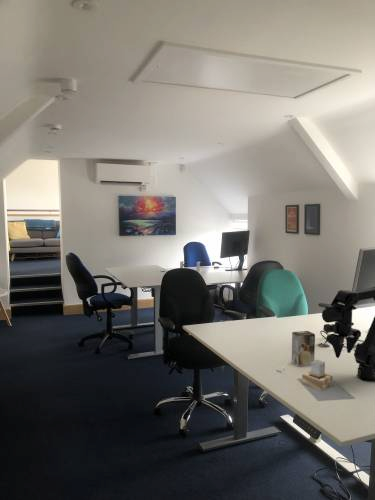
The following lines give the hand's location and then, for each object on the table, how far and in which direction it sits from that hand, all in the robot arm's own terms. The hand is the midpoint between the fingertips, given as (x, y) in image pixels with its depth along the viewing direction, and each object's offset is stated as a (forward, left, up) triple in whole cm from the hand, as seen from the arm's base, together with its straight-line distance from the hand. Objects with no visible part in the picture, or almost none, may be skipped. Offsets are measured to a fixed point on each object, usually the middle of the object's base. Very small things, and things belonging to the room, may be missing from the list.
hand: (343, 355), depth 174 cm
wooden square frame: (+11, 0, -13) cm, 17 cm away
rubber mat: (+10, +4, -13) cm, 17 cm away
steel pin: (+11, 0, -13) cm, 17 cm away
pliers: (+24, -13, -14) cm, 30 cm away
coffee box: (+8, -23, -13) cm, 28 cm away
